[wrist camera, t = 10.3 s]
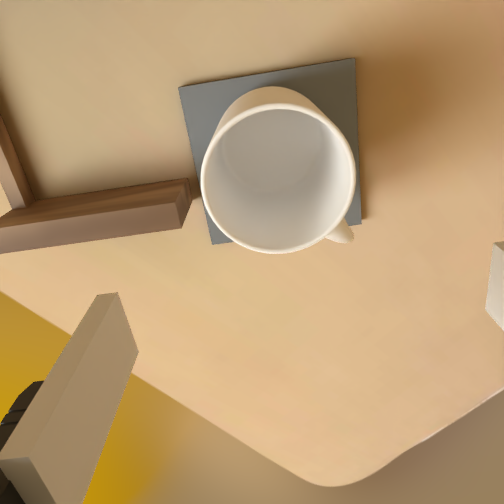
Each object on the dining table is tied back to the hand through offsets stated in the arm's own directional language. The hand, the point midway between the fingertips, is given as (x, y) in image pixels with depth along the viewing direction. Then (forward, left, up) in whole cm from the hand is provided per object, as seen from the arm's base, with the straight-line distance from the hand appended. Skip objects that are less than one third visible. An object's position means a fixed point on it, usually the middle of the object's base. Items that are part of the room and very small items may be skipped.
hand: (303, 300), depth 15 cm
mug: (0, +1, -21) cm, 21 cm away
